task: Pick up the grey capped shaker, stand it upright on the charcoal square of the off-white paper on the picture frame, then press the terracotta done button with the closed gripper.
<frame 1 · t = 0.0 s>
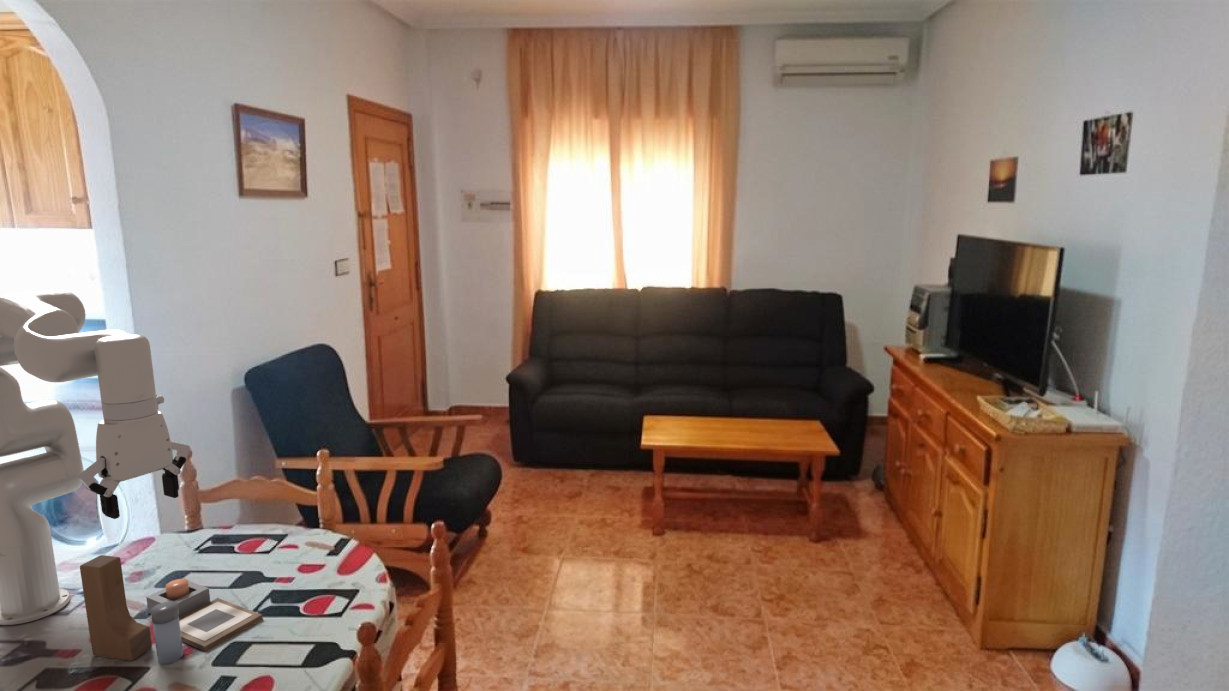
hand: (142, 506, 120), 31 cm above the table, tool pointing down, fingers open, 9 cm apart
done button: (177, 589, 145), point 4 cm above the table, slide at 0.0 cm
grey capped shaker: (170, 657, 129), on the table
wooden block: (122, 652, 131), on the table
button housing: (179, 608, 146), on the table
picture frame: (212, 625, 140), on the table
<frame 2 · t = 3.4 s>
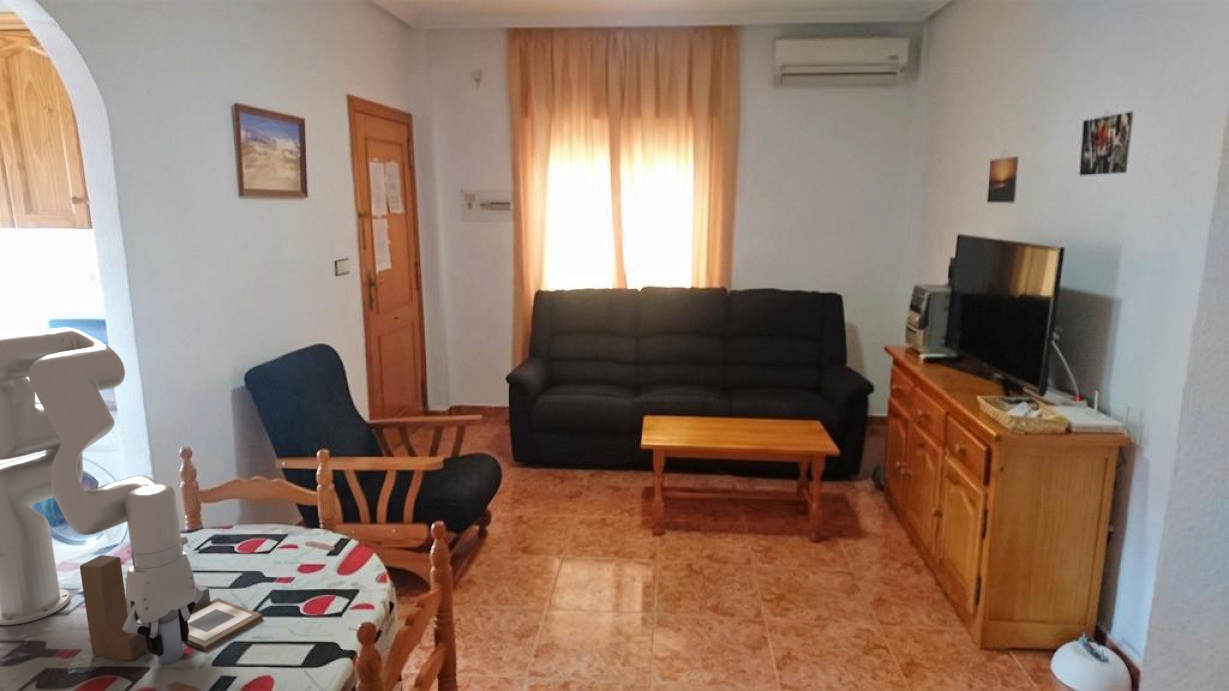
hand: (169, 645, 129), 2 cm above the table, tool pointing down, fingers closed on grey capped shaker, 4 cm apart
grey capped shaker: (170, 657, 129), on the table, touching gripper
everything else where it was.
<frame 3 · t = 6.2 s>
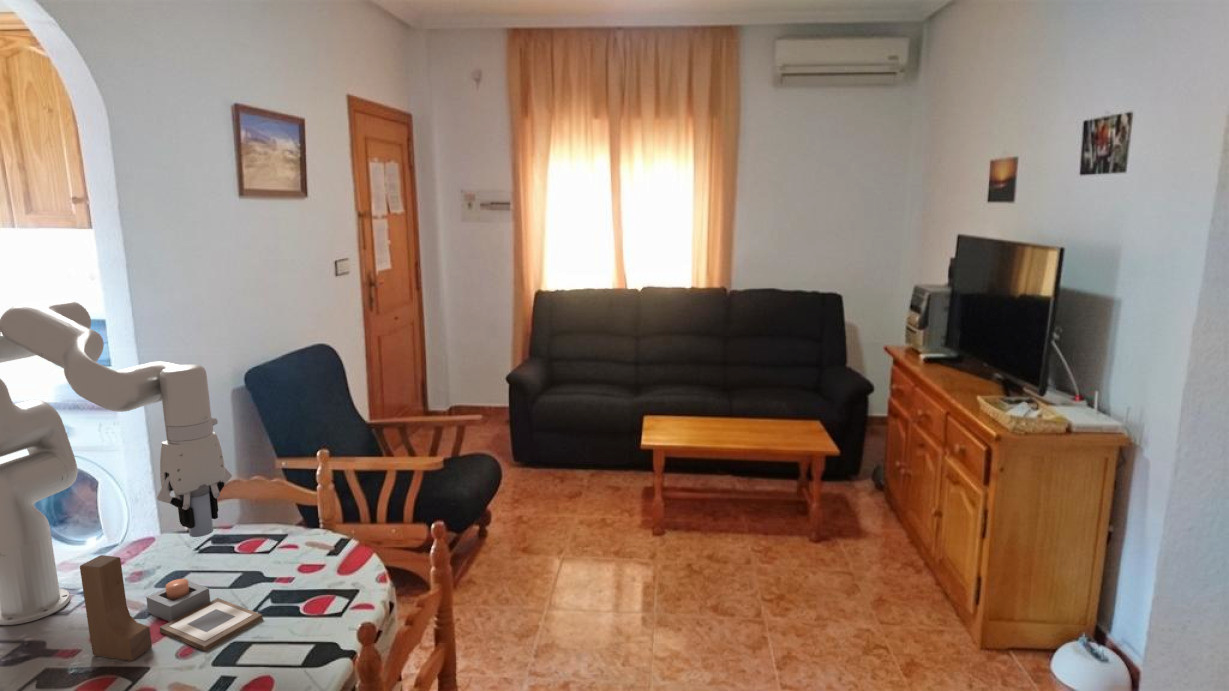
hand: (199, 521, 135), 22 cm above the table, tool pointing down, fingers closed on grey capped shaker, 4 cm apart
grey capped shaker: (201, 532, 136), point 20 cm above the table, touching gripper
everything else where it was.
when the fingers open (4 cm above the table, at t = 8.9 s): grey capped shaker stays where it is, resting on picture frame.
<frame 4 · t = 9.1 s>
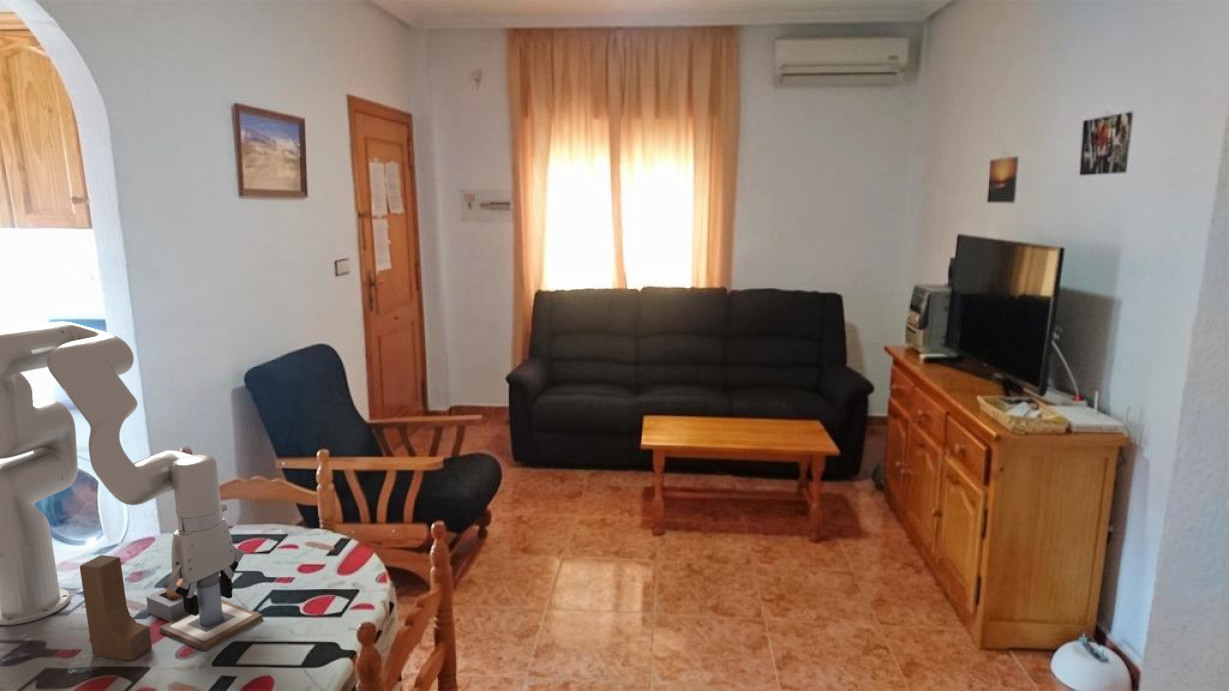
hand: (209, 604, 139), 5 cm above the table, tool pointing down, fingers open, 6 cm apart
grey capped shaker: (211, 620, 139), point 1 cm above the table, touching picture frame
everything else where it was.
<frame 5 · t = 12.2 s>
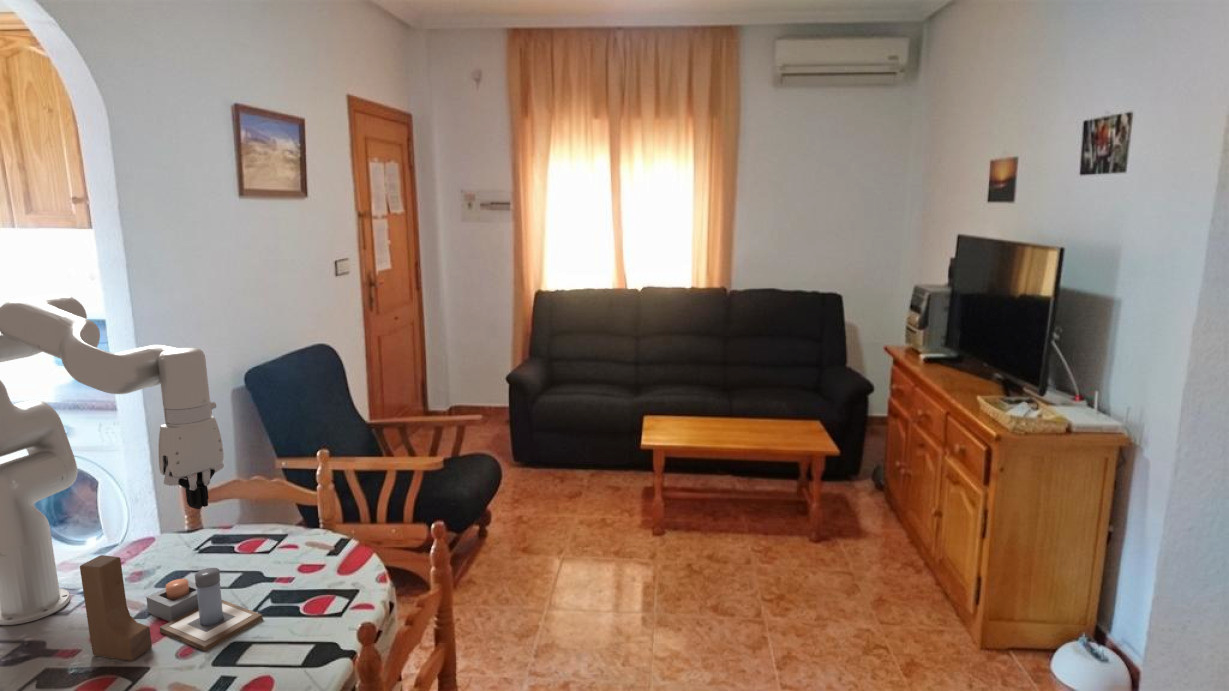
hand: (198, 506, 135), 25 cm above the table, tool pointing down, fingers closed
nothing on the table moved.
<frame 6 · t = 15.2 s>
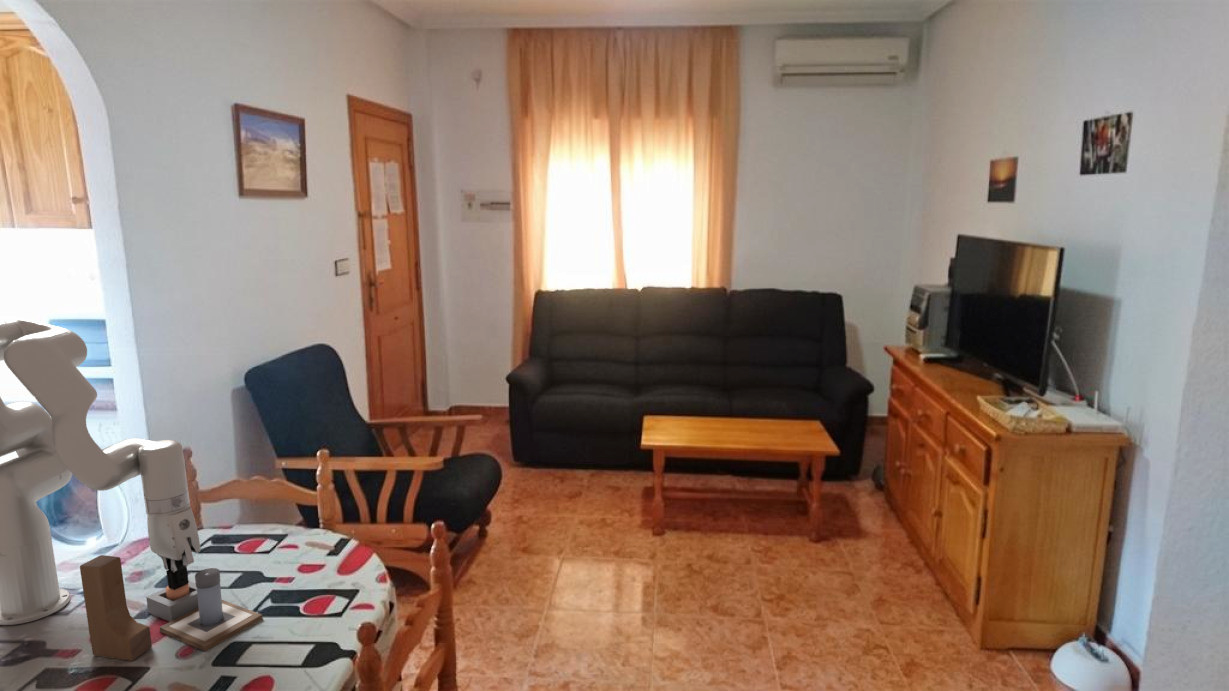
hand: (178, 585, 145), 5 cm above the table, tool pointing down, fingers closed
done button: (177, 591, 145), point 4 cm above the table, slide at 0.6 cm, touching gripper
everything else where it was.
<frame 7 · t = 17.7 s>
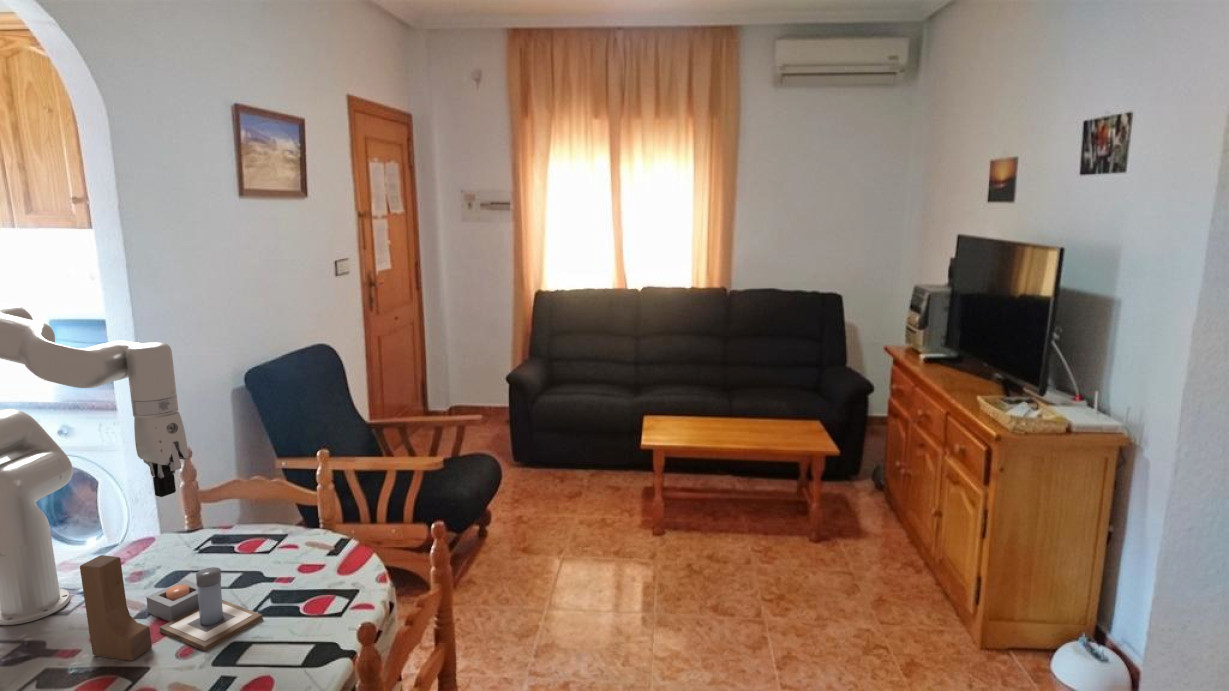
hand: (165, 494, 141), 25 cm above the table, tool pointing down, fingers closed
done button: (178, 595, 145), point 3 cm above the table, slide at 1.3 cm
everything else where it was.
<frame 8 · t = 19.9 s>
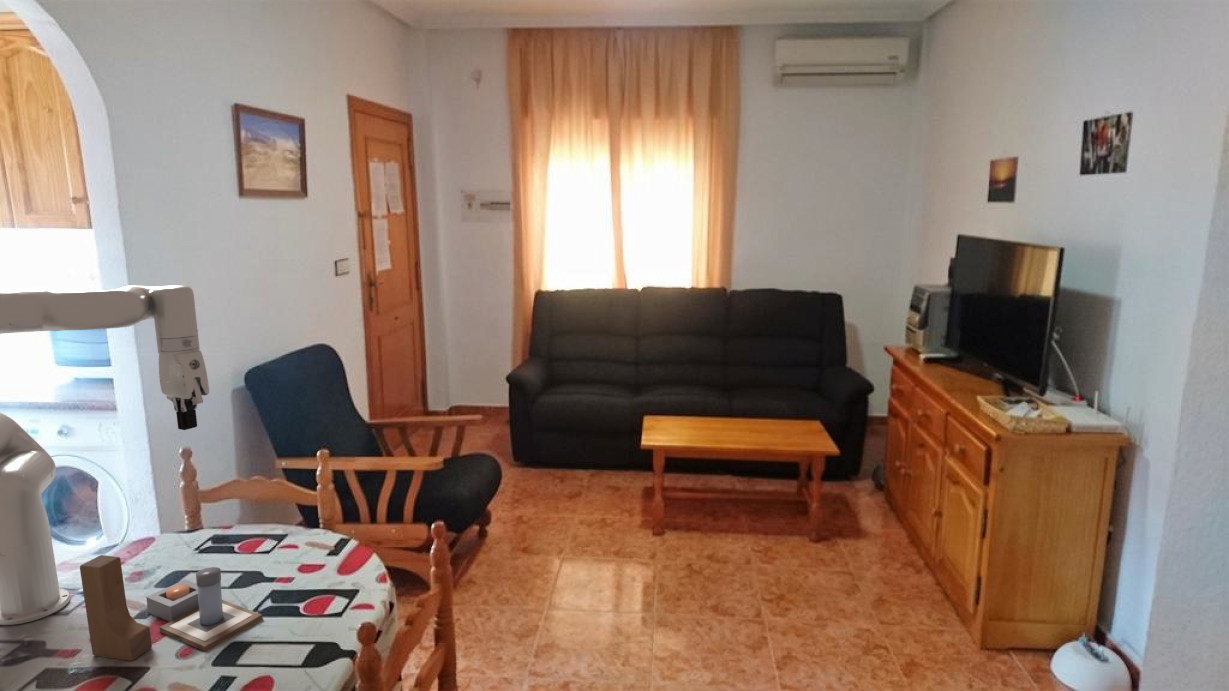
hand: (187, 428, 151), 35 cm above the table, tool pointing down, fingers closed
nothing on the table moved.
at the end: grey capped shaker 0.0 cm off-centre on the picture frame, point 1.2 cm above the picture frame's base; grey capped shaker tilted 2°; done button slide at 1.3 cm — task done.
